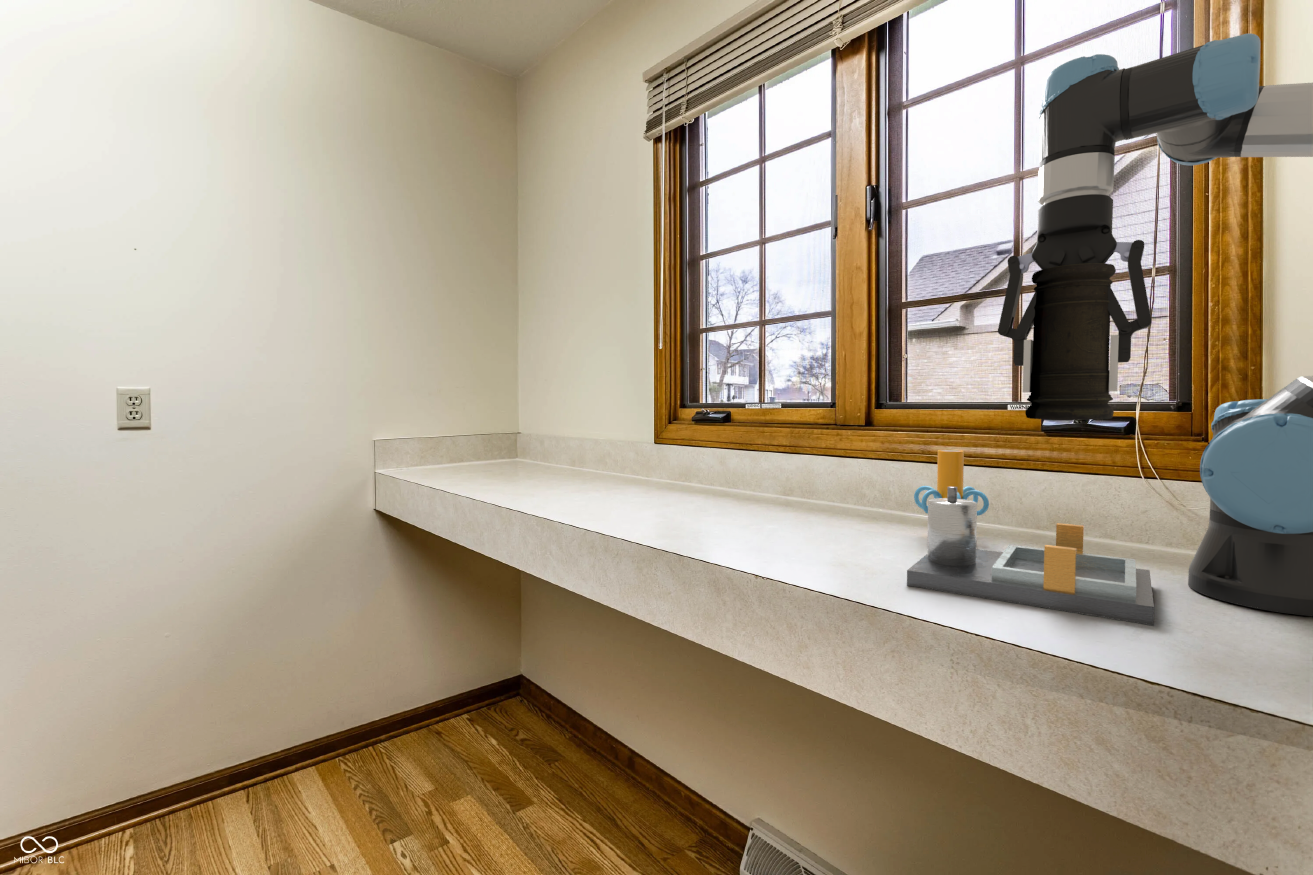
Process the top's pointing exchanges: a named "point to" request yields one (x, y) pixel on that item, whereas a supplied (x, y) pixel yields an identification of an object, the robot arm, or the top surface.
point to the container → (1071, 343)
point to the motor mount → (1029, 569)
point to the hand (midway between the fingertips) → (1068, 391)
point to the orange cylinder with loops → (950, 481)
